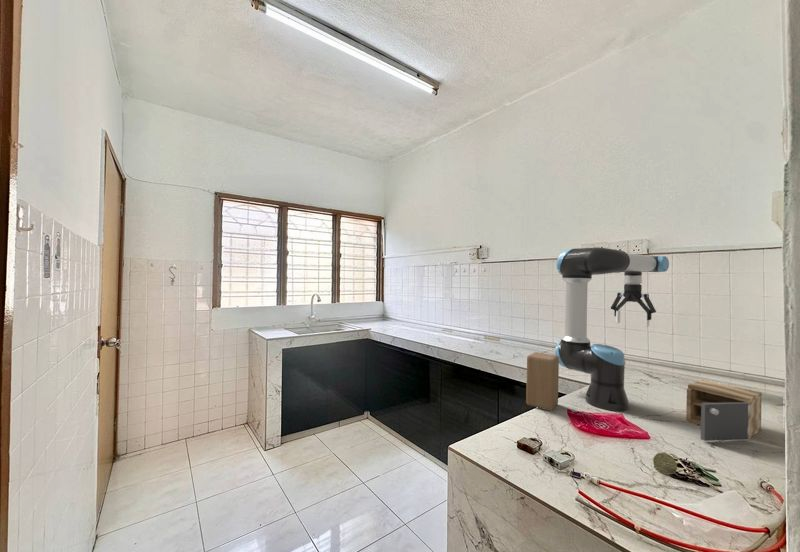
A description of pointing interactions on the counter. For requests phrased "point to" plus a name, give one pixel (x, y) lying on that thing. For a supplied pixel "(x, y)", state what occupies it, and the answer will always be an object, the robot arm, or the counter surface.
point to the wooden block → (542, 380)
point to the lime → (665, 463)
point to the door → (725, 421)
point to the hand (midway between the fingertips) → (632, 324)
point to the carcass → (722, 401)
